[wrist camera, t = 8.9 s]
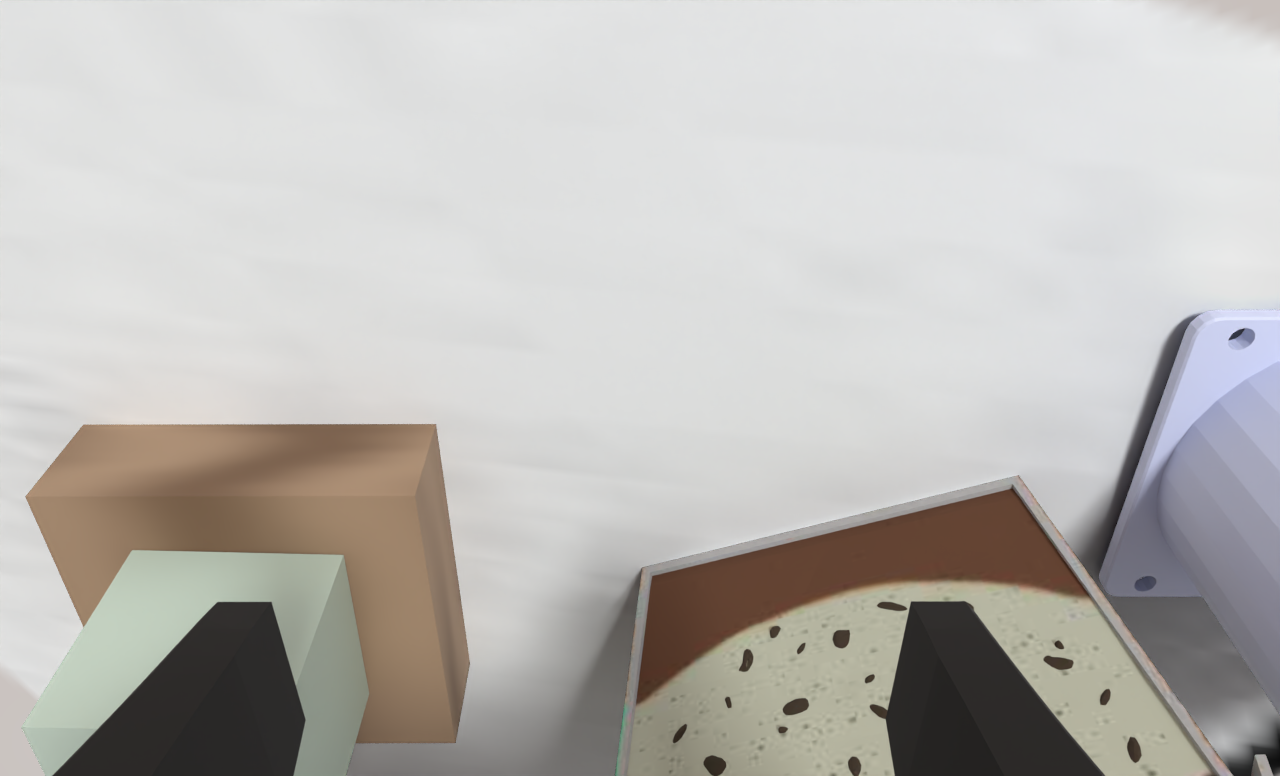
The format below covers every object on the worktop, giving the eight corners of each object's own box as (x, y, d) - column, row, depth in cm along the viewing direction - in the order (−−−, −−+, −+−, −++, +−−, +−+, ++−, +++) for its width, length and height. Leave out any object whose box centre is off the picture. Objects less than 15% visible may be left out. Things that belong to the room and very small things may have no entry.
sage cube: (343, 554, 21) (278, 732, 17) (369, 693, 24) (318, 874, 20) (132, 549, 21) (21, 727, 17) (180, 689, 23) (92, 871, 20)
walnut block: (439, 412, 23) (414, 495, 20) (472, 650, 27) (455, 742, 25) (92, 413, 23) (25, 496, 20) (182, 650, 27) (135, 743, 25)
